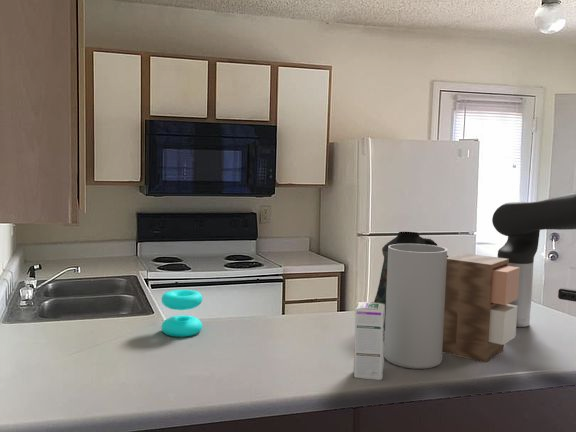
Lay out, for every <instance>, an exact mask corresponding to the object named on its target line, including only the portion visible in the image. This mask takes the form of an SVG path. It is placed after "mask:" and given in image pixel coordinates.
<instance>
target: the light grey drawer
mask: <svg viewBox="0 0 576 432" xmlns="http://www.w3.org/2000/svg"><path fill="white" fill-rule="evenodd" d="M516 321H517V306H516V305H510V304H506V305H502V304H499V305H496V306H494V307H492V308H490V326H489V342H492V343H497V344H501V345H503V344H504V345H505V344H506V343H508V342H510V341H511V340H512V339H514V338H516V337H517V336H516V335H517V333H516V332H517V327H516Z"/></svg>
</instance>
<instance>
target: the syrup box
mask: <svg viewBox="0 0 576 432" xmlns="http://www.w3.org/2000/svg"><path fill="white" fill-rule="evenodd" d="M354 311H355V312H354V317H355V318H354V351H353V352H354V360H353V363H354V364H353V376H354V378H356V379H362V380H363V379H364V380H374V381H375V380H378V381H382V379H383V377H384V370H385V369H384V365H385V363H384V362H385V356H384V341H385V331H384V324H385V304H383V303H377V302H374V301H358V302H357V304H356V306H355V310H354Z"/></svg>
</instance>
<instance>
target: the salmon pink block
mask: <svg viewBox="0 0 576 432" xmlns="http://www.w3.org/2000/svg"><path fill="white" fill-rule="evenodd" d="M519 273H520V267H513V266H505V265H502V266H499V267H496V268H493V273H492V291H491V303H496V304H502V305H506V304H509V303H511V302H513V301H515V300H517V299H518V289H519Z"/></svg>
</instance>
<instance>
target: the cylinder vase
mask: <svg viewBox="0 0 576 432" xmlns="http://www.w3.org/2000/svg"><path fill="white" fill-rule="evenodd" d="M447 255H448V248H447V247H443V246H438V245H437V246H434V245H425V244H394V245H389V246H388V265H387V290H386V316H385V331H384V359H385V360H387V361H388V362H389V363H391V364H393V365H395V366H399V367H402V368H407V369H415V370H417V369H419V370H420V369H421V370H423V369H431V368H435V367H437V366H439V365H440V364H441V363H442V360H443V352H442V346H443V326H444V306H445V286H446V265H447Z"/></svg>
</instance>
